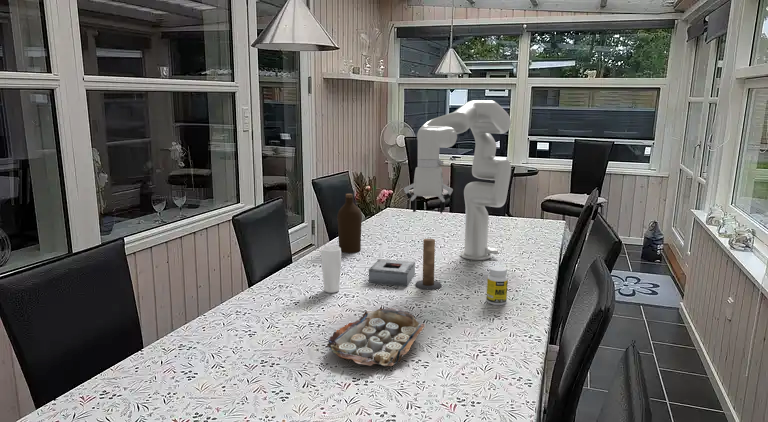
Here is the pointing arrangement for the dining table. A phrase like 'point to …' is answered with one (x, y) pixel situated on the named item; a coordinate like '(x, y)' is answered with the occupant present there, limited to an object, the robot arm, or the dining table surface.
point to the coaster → (436, 286)
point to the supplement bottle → (497, 286)
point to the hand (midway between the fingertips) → (428, 211)
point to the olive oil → (349, 226)
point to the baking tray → (376, 337)
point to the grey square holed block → (392, 272)
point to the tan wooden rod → (428, 261)
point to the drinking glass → (331, 268)
